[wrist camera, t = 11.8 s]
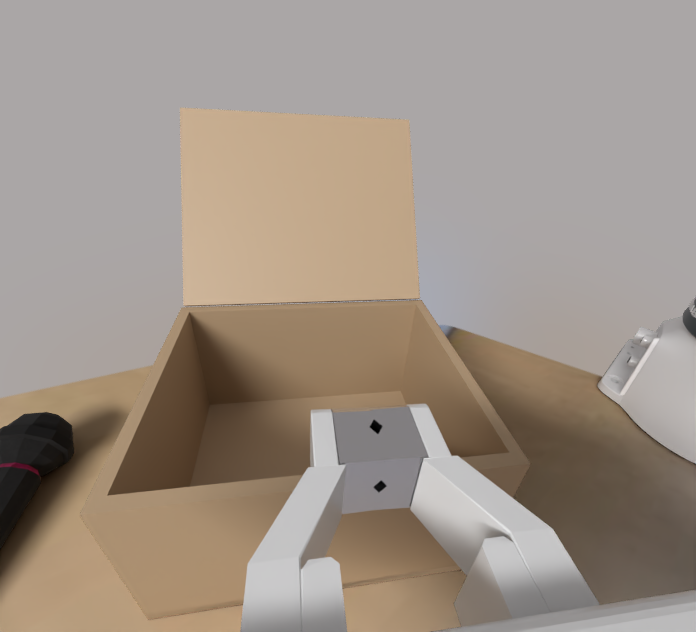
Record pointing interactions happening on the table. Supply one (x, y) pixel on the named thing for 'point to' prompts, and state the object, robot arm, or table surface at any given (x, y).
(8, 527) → the microphone
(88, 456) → the table surface
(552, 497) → the table surface
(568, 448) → the table surface
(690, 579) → the table surface
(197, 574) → the carton
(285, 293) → the flap
